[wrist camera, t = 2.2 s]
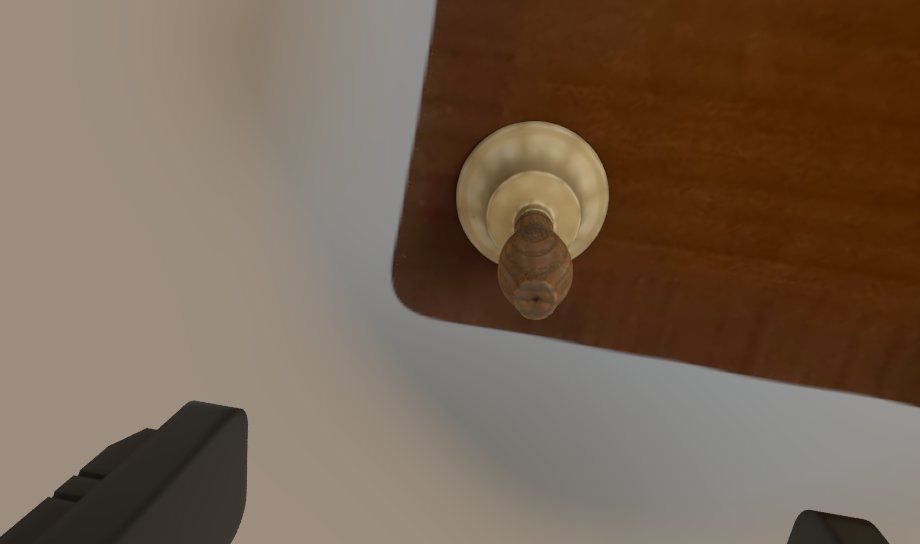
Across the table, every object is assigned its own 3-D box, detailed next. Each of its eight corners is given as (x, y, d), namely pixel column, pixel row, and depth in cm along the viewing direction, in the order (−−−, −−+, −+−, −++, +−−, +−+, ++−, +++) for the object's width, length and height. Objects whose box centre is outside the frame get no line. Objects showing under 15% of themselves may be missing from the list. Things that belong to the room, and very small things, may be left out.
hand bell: (637, 219, 32) (732, 332, 17) (510, 296, 35) (495, 458, 19) (555, 88, 31) (580, 87, 16) (427, 178, 33) (342, 253, 18)
